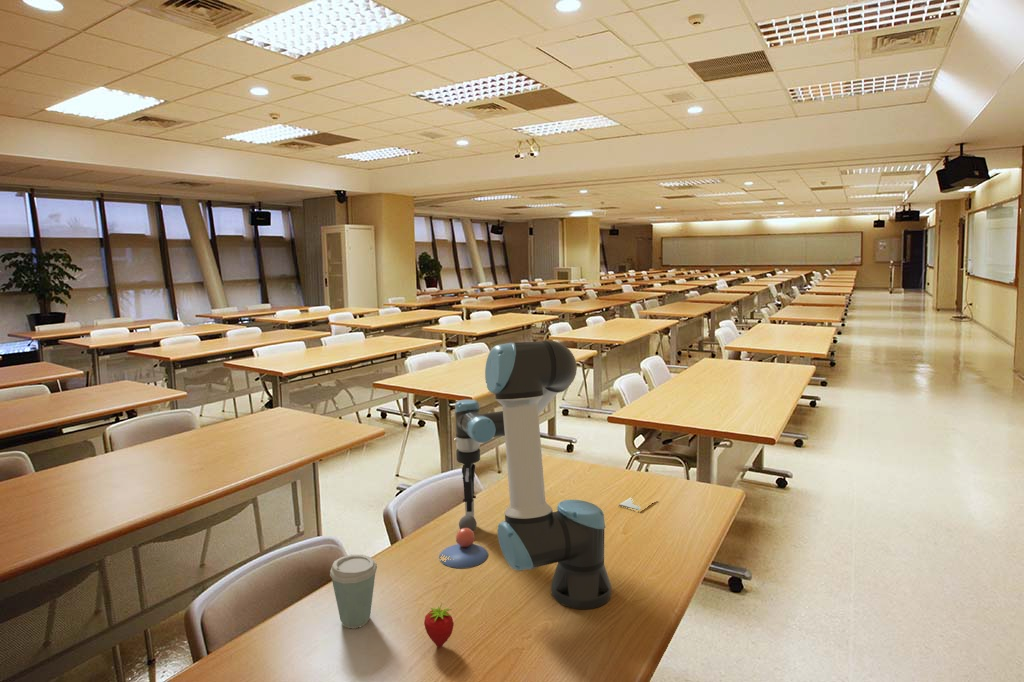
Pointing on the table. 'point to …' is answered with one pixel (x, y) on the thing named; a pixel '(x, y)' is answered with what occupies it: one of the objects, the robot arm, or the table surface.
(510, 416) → the robot arm
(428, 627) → the strawberry
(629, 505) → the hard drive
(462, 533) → the red ball
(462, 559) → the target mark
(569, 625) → the table surface
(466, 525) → the grey ball
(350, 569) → the disposable coffee cup
